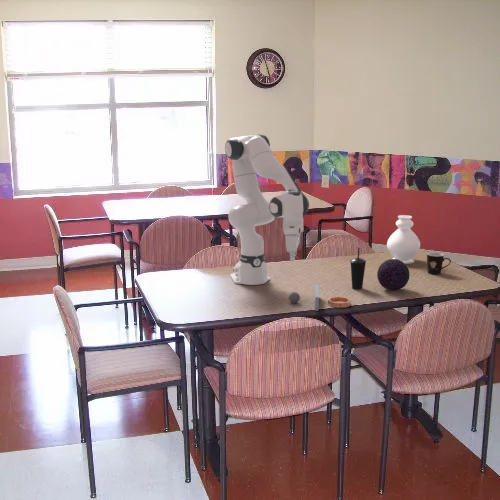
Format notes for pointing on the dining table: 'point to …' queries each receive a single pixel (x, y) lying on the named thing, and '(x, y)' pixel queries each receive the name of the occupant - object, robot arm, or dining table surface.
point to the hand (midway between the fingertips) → (293, 258)
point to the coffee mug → (435, 262)
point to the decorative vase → (403, 241)
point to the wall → (316, 296)
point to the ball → (294, 297)
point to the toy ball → (393, 274)
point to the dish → (339, 302)
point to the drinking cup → (357, 272)
